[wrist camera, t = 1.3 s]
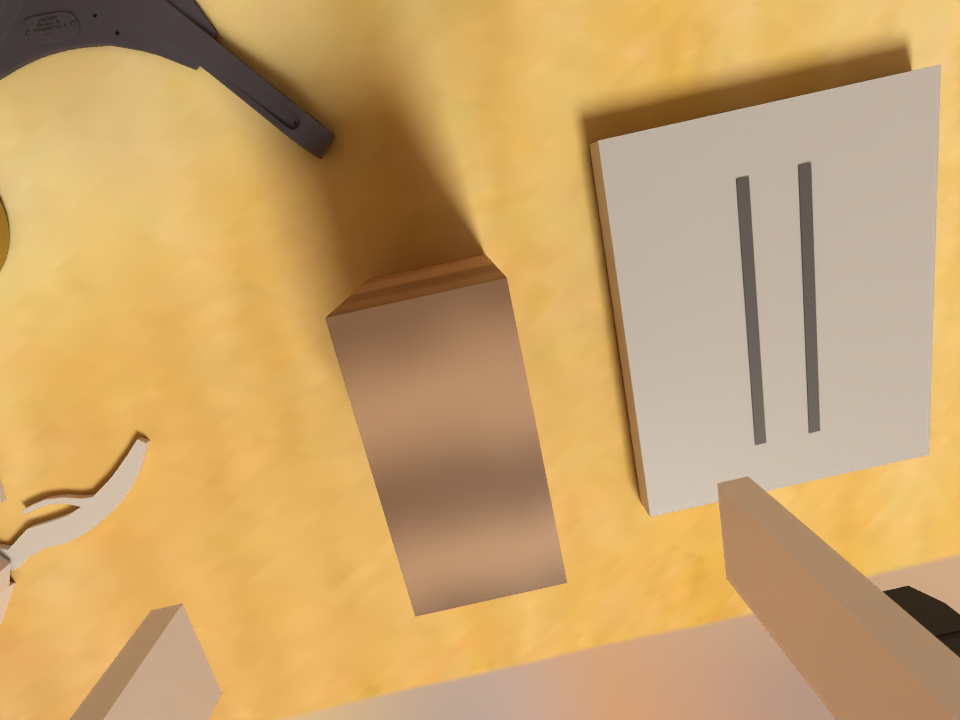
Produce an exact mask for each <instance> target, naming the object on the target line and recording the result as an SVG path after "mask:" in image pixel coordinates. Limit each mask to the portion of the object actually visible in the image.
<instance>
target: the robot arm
mask: <svg viewBox="0 0 960 720" xmlns="http://www.w3.org/2000/svg"><path fill="white" fill-rule="evenodd" d="M717 488H718V498H719V508H720V518H721V527H722V537H723V547H724V557H725V567H726V576H727V580H728V581H729V582H730V583H731V585H732V586H733V587H734V589H735V590H736V591H737V592H738V594H739V595H740V596H741V598H742V599H743V600H744V601H745V603H746V604H747V605H748V607H749V608H750V609H751V610H752V612H753V613H754V614H755V616H756V617H757V618H758V619H759V621H760V622H761V623H762V625H763V626H764V627H765V628H766V630H767V631H768V632H769V634H770V635H771V636H772V637H773V639H774V640H775V641H776V643H777V644H778V645H779V646H780V648H781V649H782V650H783V652H784V653H785V654H786V655H787V657H788V658H789V659H790V661H791V662H792V663H793V664H794V666H795V667H796V668H797V670H798V671H799V672H800V673H801V675H802V676H803V677H804V678H805V680H806V681H807V682H808V684H809V685H810V686H811V688H812V689H813V690H814V691H815V693H816V694H817V695H818V697H819V698H820V699H821V701H822V702H823V703H824V704H825V706H826V707H827V708H828V709H829V711H830V712H831V713H832V715H833V716H834V717H835V718H836V720H960V614H958V613H957V612H956V611H954V610H953V609H952V608H950V607H949V606H948V605H947V604H945V603H943V602H941V601H939V600H937V599H935V598H933V597H931V596H929V595H927V594H925V593H922V592H920V591H918V590H916V589H914V588H912V587H910V586H905V587H900V588H896V589H892V590H887V591H883V592H882V591H881V590H880V589H879V588H878V587H877V586H875V585H874V584H873V583H872V582H871V581H870V580H868V579H867V578H866V577H865V576H864V575H863V574H861V573H860V572H859V571H858V570H857V569H856V568H854V567H853V566H852V565H851V564H850V563H849V562H847V561H846V560H845V559H844V558H843V557H842V556H840V555H839V554H838V553H837V552H836V551H835V550H833V549H832V548H831V547H830V546H829V545H828V544H826V543H825V542H824V541H823V540H822V539H821V538H819V537H818V536H817V535H816V534H815V533H814V532H812V531H811V530H810V529H809V528H808V527H807V526H805V525H804V524H803V523H802V522H801V521H800V520H798V519H797V518H796V517H795V516H794V515H793V514H791V513H790V512H789V511H788V510H787V509H786V508H784V507H783V506H782V505H781V504H780V503H779V502H777V501H776V500H775V499H774V498H773V497H772V496H770V495H769V494H768V493H767V492H766V491H765V490H763V489H762V488H761V487H760V486H759V485H758V484H756V483H755V482H754V481H753V480H752V479H751V478H749V477H748V476H747V477H743V478H738V479H734V480H729V481H725V482H720V483H717ZM221 693H222V692H221V690H220V688H219V686H218V683H217V681H216V679H215V676H214V674H213V672H212V670H211V667H210V665H209V663H208V661H207V658H206V656H205V654H204V651H203V649H202V647H201V645H200V642H199V640H198V638H197V636H196V633H195V631H194V629H193V626H192V624H191V622H190V620H189V617H188V615H187V613H186V611H185V608H184V606H183V604H179V605H174V606H170V607H165V608H161V609H156V610H152V611H151V612H150V613H149V614H148V616H147V617H146V618H145V620H144V621H143V622H142V624H141V625H140V626H139V628H138V629H137V630H136V632H135V633H134V634H133V636H132V637H131V638H130V640H129V641H128V642H127V644H126V645H125V646H124V648H123V649H122V650H121V652H120V653H119V654H118V656H117V657H116V658H115V660H114V661H113V662H112V664H111V665H110V666H109V668H108V669H107V670H106V672H105V673H104V674H103V676H102V677H101V678H100V680H99V681H98V682H97V684H96V685H95V686H94V688H93V689H92V690H91V692H90V693H89V694H88V696H87V697H86V698H85V700H84V701H83V702H82V704H81V705H80V706H79V708H78V709H77V710H76V712H75V713H74V714H73V716H72V717H71V718H70V720H209V718H210V716H211V714H212V712H213V710H214V708H215V706H216V704H217V701H218V699H219V697H220V695H221Z"/></svg>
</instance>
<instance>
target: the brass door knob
mask: <svg viewBox="0 0 960 720" xmlns="http://www.w3.org/2000/svg"><path fill="white" fill-rule="evenodd" d="M8 249H9V227H8V221H7V217H6V214H5V211H4V208H3V206H2V204H1V202H0V271H1V269H2V267H3V265H4V263H5V261H6V258H7V254H8Z"/></svg>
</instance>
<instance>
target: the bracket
mask: <svg viewBox="0 0 960 720" xmlns="http://www.w3.org/2000/svg"><path fill="white" fill-rule="evenodd" d="M217 36H218V33H217V31H216V30H215V28H214V27H213V25H212V24H211V23H210V21H209V20H208V19H207V17H206V16H205V15H204V13H203V12H202V11H201V9H200V8H199V6H198V5H197V3H196V2H195V1H194V0H0V80H1V79H3V78H4V77H6V76H8V75H9V74H11V73H12V72H14V71H16V70H18V69H19V68H21V67H23V66H25V65H27V64H29V63H31V62H33V61H35V60H38V59H40V58H43V57H46V56H48V55H51V54H55V53H58V52H63V51H67V50H72V49H78V48H85V47H98V46H117V47H123V48H128V49H134V50H139V51H144V52H148V53H152V54H156V55H159V56H162V57H164V58H167V59H170V60H172V61H175V62H177V63H180V64H182V65H185V66H187V67H190V68H192V69H195V70H197V69H198V68H199V66H201V67H202V68H203V69H205V70H206V71H207V72H209V73H210V74H211V75H212V76H214V77H215V78H216V79H217V80H219V81H220V82H221V83H222V84H224V85H225V86H226V87H227V88H229V89H230V90H231V91H232V92H234V93H235V94H236V95H237V96H239V97H240V98H241V99H242V100H244V101H245V102H246V103H247V104H248V105H250V106H251V107H252V108H253V109H255V110H256V111H257V112H258V113H260V114H261V115H262V116H263V117H265V118H266V119H267V120H268V121H270V122H271V123H272V124H273V125H274V126H276V127H277V128H278V129H279V130H280V131H282V132H283V133H284V134H286V135H287V136H288V137H289V138H291V139H292V140H293V141H295V142H296V143H297V144H299V145H300V146H302V147H303V148H304V149H306V150H307V151H309V152H310V153H312V154H313V155H315V156H316V157H318V158H320V159H321V158H322V156H323V155H324V153H325V152H326V150H327V149H328V147H329V146H330V144H331V143H332V141H333V140H334V138H335V137H336V136H335V135H334V134H333V133H332V132H331V131H329V130H328V129H327V128H326V127H324V126H323V125H322V124H321V123H319V122H318V121H317V120H316V119H314V118H313V117H312V116H310V115H309V114H308V113H307V112H306V111H304V110H303V109H302V108H300V107H299V106H298V105H297V104H295V103H294V102H293V101H292V100H290V99H289V98H288V97H287V96H285V95H284V94H283V93H282V92H280V91H279V90H278V89H277V88H275V87H274V86H273V85H272V84H270V83H269V82H268V81H267V80H265V79H264V78H263V77H261V76H260V75H259V74H258V73H256V72H255V71H254V70H253V69H251V68H250V67H249V66H248V65H246V64H245V63H244V62H243V61H241V60H240V59H239V58H238V57H236V56H235V55H234V54H233V53H231V52H230V51H229V50H228V49H226V48H225V47H224V46H222V45H221V44H220V43H219V42H218V41H217V40H216V38H217Z"/></svg>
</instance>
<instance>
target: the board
mask: <svg viewBox="0 0 960 720" xmlns="http://www.w3.org/2000/svg"><path fill="white" fill-rule="evenodd" d="M940 75H941V65H936V66H932V67H927V68H923V69H918V70H914V71H909V72H905V73H900V74H896V75H891V76H887V77H882V78H878V79H873V80H869V81H864V82H859V83H855V84H850V85H846V86H841V87H837V88H832V89H828V90H823V91H819V92H814V93H810V94H805V95H801V96H796V97H792V98H787V99H783V100H778V101H774V102H769V103H765V104H760V105H756V106H751V107H747V108H742V109H738V110H733V111H729V112H724V113H720V114H715V115H711V116H706V117H702V118H697V119H693V120H688V121H684V122H679V123H675V124H670V125H666V126H661V127H657V128H652V129H648V130H643V131H639V132H634V133H630V134H625V135H621V136H616V137H612V138H607V139H603V140H598V141H596V142H594V143H592V144H590V152H591V159H592V166H593V173H594V180H595V187H596V194H597V201H598V208H599V215H600V222H601V229H602V236H603V243H604V250H605V256H606V263H607V270H608V277H609V284H610V291H611V298H612V305H613V312H614V319H615V326H616V333H617V340H618V347H619V354H620V361H621V368H622V375H623V382H624V389H625V396H626V402H627V409H628V416H629V423H630V430H631V437H632V444H633V451H634V458H635V465H636V472H637V479H638V486H639V493H640V500H641V504H642V505H643V507H644V508H645V510H646V511H647V513H648V514H649V516H650V517H652V516H657V515H661V514H666V513H670V512H674V511H679V510H683V509H688V508H692V507H697V506H701V505H706V504H710V503H715V502H719V498H718V488H717V483H720V482H725V481H729V480H734V479H738V478H743V477H747V476H748V477H749V478H751V479H752V480H753V481H754V482H755V483H756V484H758V485H759V486H760V487H761V488H762V489H763V490H765V491H768V490H773V489H777V488H782V487H786V486H791V485H795V484H800V483H804V482H809V481H813V480H818V479H822V478H827V477H831V476H836V475H840V474H844V473H849V472H853V471H858V470H862V469H867V468H871V467H876V466H880V465H885V464H889V463H894V462H898V461H903V460H907V459H912V458H916V457H920V456H925V455H929V438H930V405H931V372H932V339H933V306H934V273H935V240H936V207H937V174H938V141H939V108H940Z"/></svg>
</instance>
